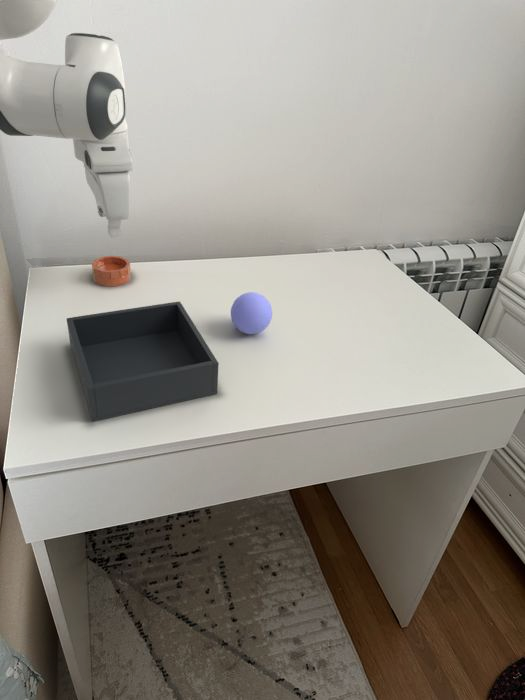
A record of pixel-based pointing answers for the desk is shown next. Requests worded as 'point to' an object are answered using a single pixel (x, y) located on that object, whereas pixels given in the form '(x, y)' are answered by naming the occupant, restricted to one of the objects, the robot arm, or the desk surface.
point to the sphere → (251, 313)
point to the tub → (140, 359)
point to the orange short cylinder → (111, 270)
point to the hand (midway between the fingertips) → (108, 225)
